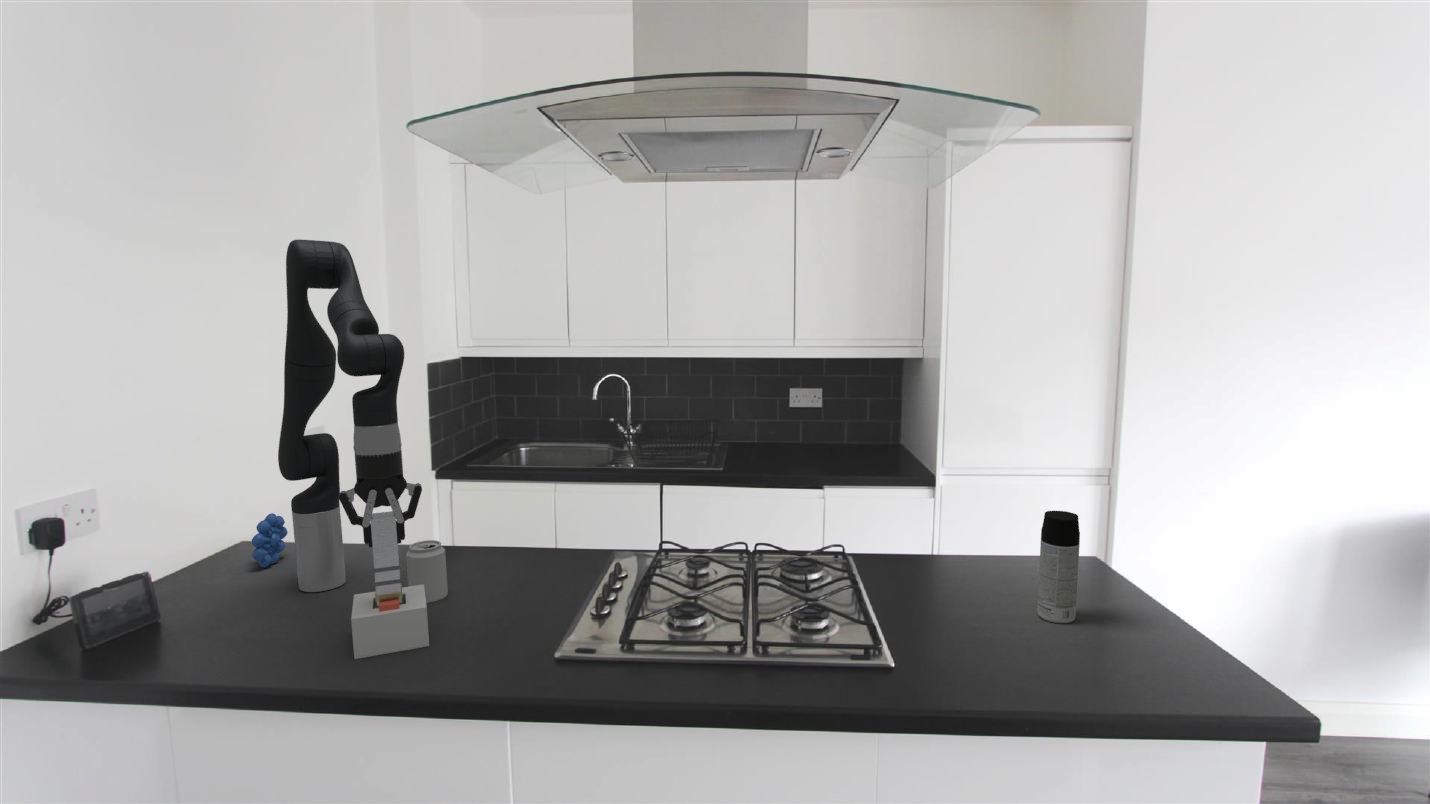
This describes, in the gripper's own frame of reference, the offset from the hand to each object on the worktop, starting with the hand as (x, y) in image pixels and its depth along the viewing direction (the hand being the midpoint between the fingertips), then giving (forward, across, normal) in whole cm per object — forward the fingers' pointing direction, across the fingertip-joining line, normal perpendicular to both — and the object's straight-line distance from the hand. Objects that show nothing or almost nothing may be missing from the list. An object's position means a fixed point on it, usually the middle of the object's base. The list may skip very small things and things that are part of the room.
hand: (385, 543), depth 137 cm
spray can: (+19, -116, +41) cm, 124 cm away
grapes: (+19, +27, -59) cm, 68 cm away
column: (+11, 0, 0) cm, 11 cm away
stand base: (+19, 0, 0) cm, 19 cm away
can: (+19, -7, -19) cm, 28 cm away
